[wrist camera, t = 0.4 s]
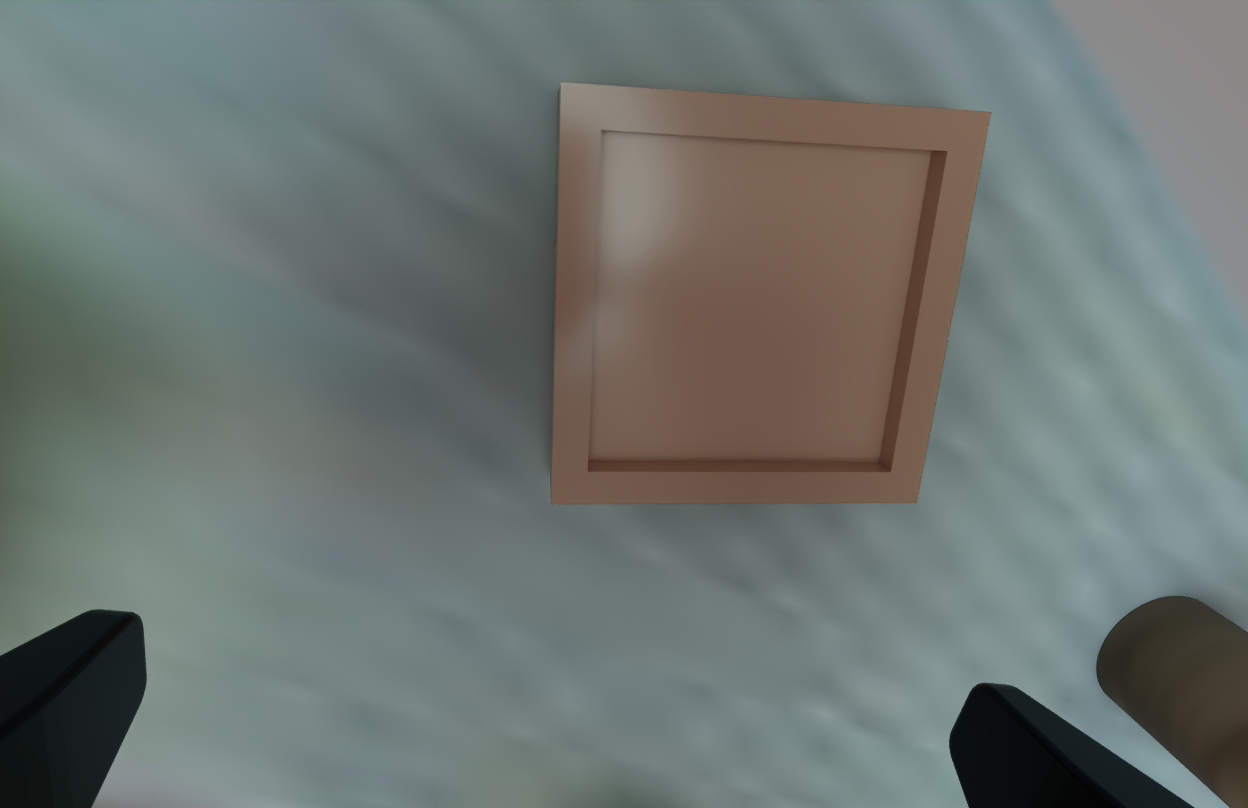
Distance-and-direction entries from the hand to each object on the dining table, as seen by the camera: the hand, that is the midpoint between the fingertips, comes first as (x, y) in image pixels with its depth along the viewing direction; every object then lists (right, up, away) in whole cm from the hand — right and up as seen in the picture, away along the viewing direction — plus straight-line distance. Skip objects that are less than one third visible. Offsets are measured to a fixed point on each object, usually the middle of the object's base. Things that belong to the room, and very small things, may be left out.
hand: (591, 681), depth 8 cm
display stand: (+4, +6, +14) cm, 16 cm away
